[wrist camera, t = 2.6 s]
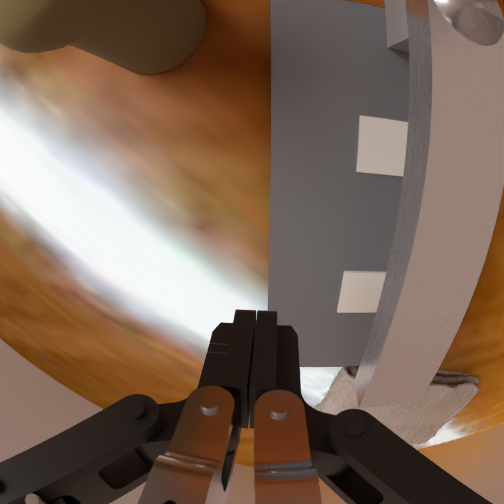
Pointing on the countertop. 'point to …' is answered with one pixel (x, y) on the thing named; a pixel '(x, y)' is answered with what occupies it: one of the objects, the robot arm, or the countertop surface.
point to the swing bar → (439, 195)
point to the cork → (108, 29)
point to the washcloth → (407, 404)
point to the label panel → (335, 168)
